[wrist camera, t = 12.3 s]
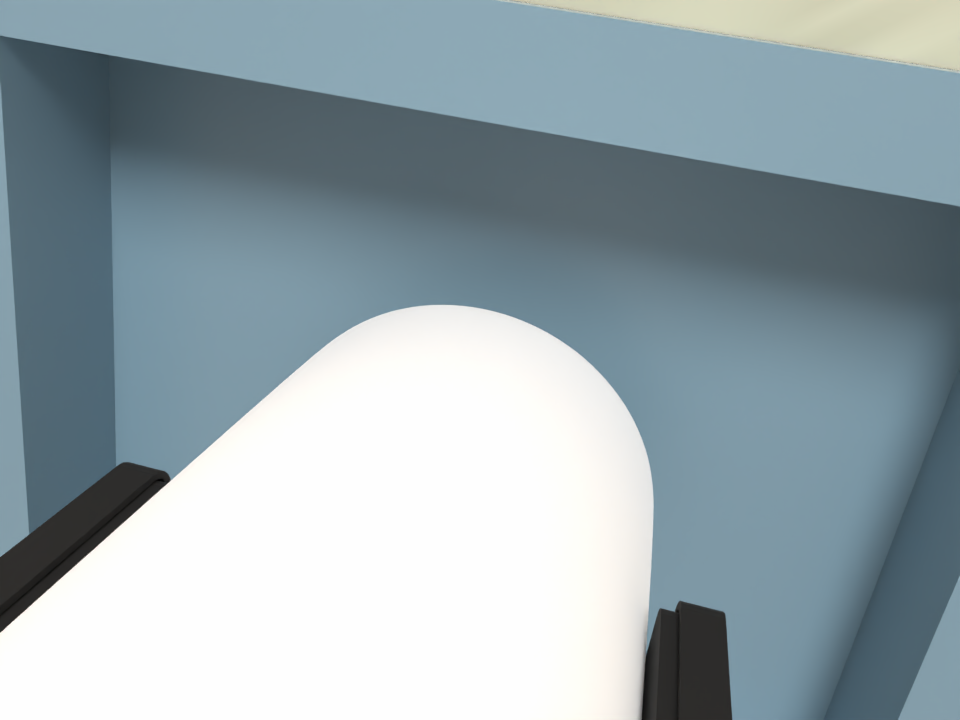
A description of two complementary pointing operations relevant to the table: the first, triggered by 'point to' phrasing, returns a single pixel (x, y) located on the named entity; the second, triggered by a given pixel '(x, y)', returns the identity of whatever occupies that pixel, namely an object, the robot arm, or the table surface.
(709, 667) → the robot arm
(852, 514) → the tray
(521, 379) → the can
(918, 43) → the table surface
